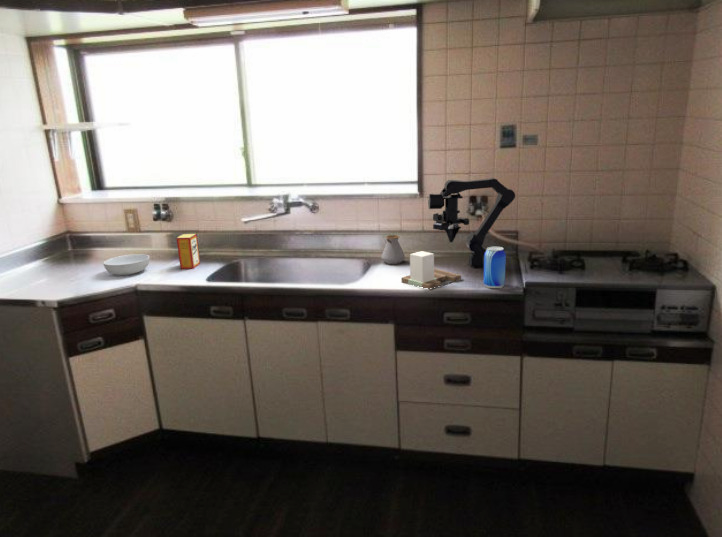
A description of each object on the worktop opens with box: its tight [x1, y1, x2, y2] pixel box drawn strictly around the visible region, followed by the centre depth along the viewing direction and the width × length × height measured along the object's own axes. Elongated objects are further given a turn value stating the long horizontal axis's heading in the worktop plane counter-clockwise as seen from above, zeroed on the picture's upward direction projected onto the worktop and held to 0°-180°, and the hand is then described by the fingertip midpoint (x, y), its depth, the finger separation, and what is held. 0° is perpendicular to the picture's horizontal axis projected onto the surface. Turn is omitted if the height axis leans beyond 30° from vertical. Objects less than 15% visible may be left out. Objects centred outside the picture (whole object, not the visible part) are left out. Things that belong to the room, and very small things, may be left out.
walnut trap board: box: [400, 268, 462, 289], centre depth 227 cm, size 20×16×2 cm
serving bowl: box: [102, 253, 151, 276], centre depth 259 cm, size 21×21×7 cm
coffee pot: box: [381, 234, 406, 265], centre depth 253 cm, size 21×12×15 cm, turn 168°
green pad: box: [407, 278, 437, 288], centre depth 224 cm, size 9×8×2 cm
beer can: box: [483, 245, 507, 289], centre depth 215 cm, size 8×8×16 cm
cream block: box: [409, 250, 435, 283], centre depth 222 cm, size 7×7×11 cm
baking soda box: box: [176, 233, 201, 270], centre depth 264 cm, size 10×6×16 cm
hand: (451, 242), depth 244 cm, fingers closed
